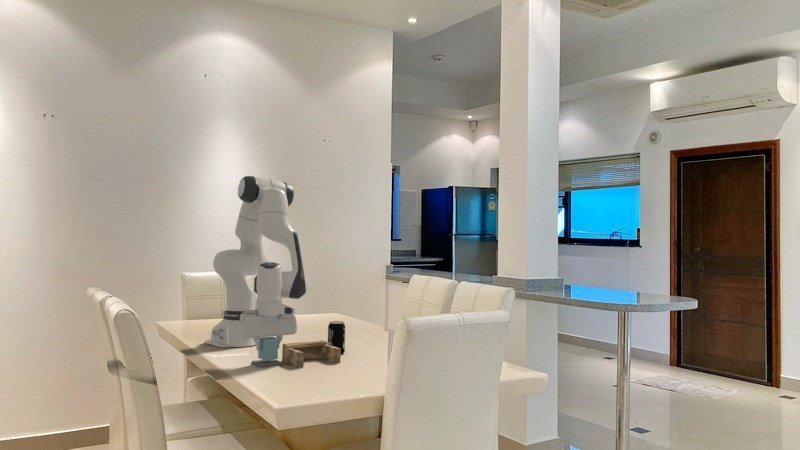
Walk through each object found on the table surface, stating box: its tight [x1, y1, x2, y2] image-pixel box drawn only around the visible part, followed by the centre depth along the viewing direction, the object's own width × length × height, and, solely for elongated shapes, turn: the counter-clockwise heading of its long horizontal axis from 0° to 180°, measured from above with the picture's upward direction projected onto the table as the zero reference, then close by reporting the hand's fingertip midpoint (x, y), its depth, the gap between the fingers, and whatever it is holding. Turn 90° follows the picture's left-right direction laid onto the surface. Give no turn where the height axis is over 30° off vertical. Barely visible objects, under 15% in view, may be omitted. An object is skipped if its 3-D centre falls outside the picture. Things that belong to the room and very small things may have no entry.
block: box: [257, 336, 279, 360], centre depth 203 cm, size 5×5×7 cm
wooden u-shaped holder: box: [281, 339, 342, 369], centre depth 208 cm, size 14×16×6 cm
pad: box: [251, 359, 284, 368], centre depth 203 cm, size 8×8×1 cm
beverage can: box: [327, 320, 346, 355], centre depth 225 cm, size 7×7×12 cm
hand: (267, 349), depth 203 cm, fingers closed on block, 5 cm apart
